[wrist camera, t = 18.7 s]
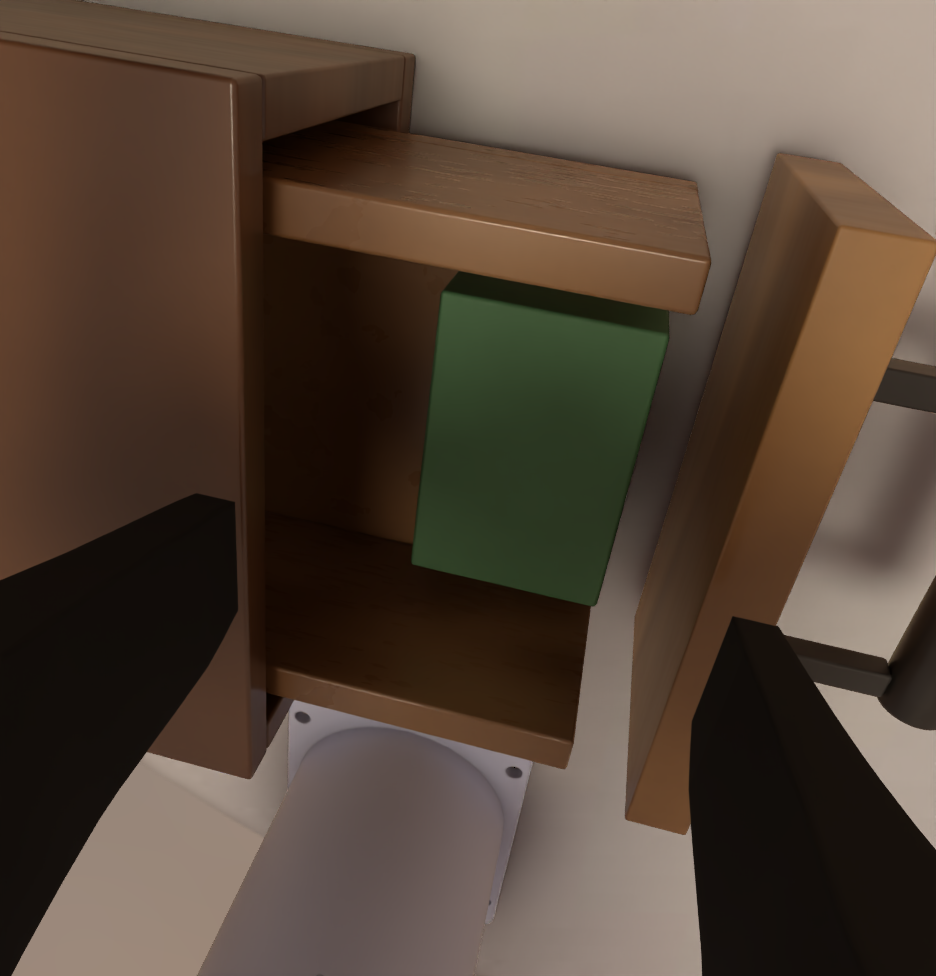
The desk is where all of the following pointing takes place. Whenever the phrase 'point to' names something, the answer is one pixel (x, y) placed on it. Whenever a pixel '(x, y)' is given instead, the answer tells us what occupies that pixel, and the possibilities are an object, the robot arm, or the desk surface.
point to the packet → (533, 433)
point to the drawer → (702, 477)
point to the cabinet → (152, 293)
